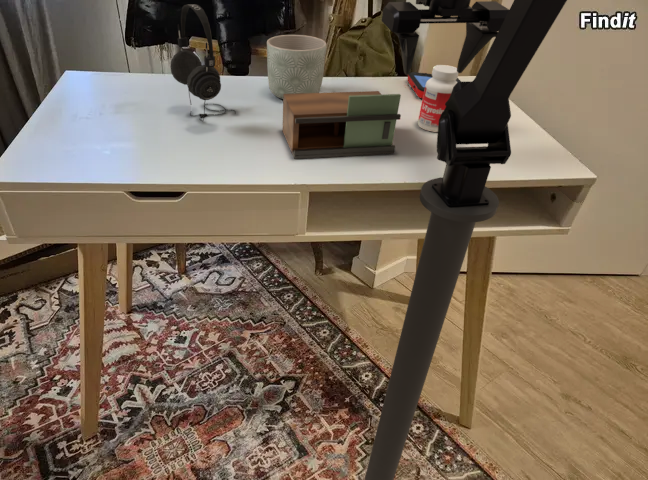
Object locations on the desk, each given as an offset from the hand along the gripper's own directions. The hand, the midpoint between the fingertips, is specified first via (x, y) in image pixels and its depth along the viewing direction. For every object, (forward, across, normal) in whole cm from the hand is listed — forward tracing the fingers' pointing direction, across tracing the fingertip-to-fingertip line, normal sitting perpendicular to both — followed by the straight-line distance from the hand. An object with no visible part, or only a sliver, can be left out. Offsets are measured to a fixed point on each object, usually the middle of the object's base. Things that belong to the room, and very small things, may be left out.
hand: (432, 73), depth 82 cm
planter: (+16, +17, -28) cm, 36 cm away
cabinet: (+13, +14, -3) cm, 20 cm away
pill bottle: (+14, -7, -8) cm, 18 cm away
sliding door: (+12, +10, +2) cm, 15 cm away
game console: (+16, -17, -28) cm, 36 cm away
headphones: (+15, +36, -17) cm, 42 cm away
